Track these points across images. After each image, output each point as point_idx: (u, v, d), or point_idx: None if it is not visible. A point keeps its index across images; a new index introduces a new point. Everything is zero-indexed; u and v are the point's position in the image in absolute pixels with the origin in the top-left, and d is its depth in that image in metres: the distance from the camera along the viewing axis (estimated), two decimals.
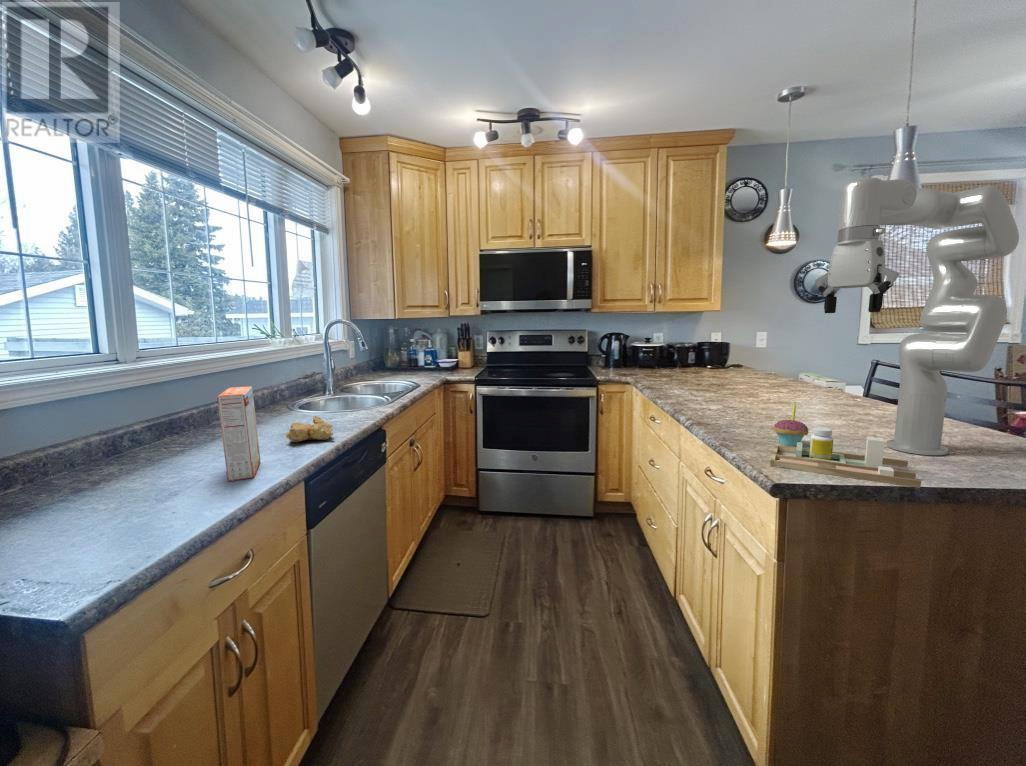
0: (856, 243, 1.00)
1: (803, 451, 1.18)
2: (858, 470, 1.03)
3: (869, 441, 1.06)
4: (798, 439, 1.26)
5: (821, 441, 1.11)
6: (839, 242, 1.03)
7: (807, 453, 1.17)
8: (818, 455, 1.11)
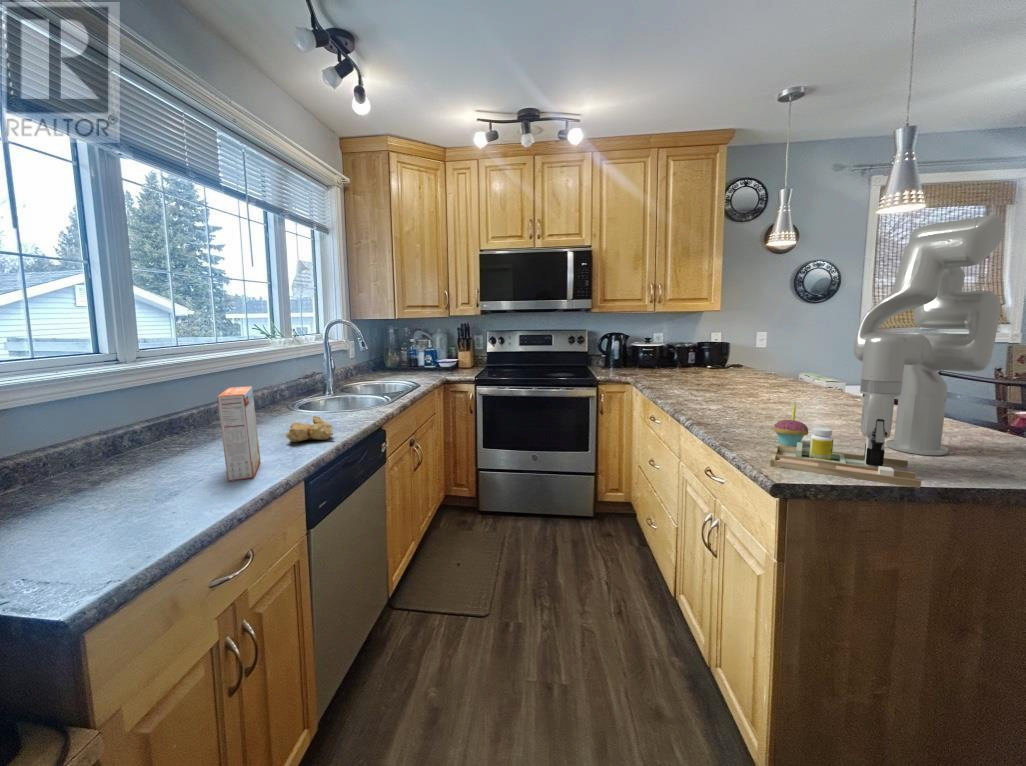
0: None
1: (803, 451, 1.18)
2: (858, 470, 1.03)
3: None
4: (798, 439, 1.26)
5: (821, 441, 1.11)
6: (899, 394, 1.01)
7: (807, 453, 1.17)
8: (818, 455, 1.11)
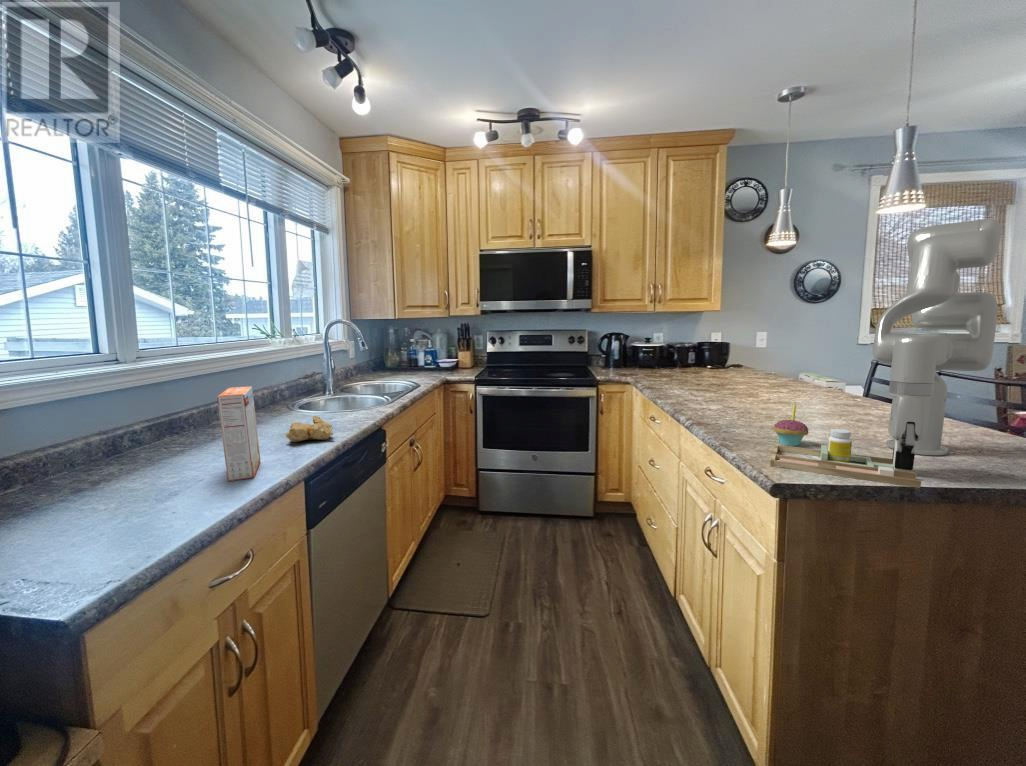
0: None
1: None
2: (858, 470, 1.03)
3: None
4: (798, 439, 1.26)
5: (839, 443, 1.09)
6: (930, 395, 0.99)
7: None
8: (837, 457, 1.09)
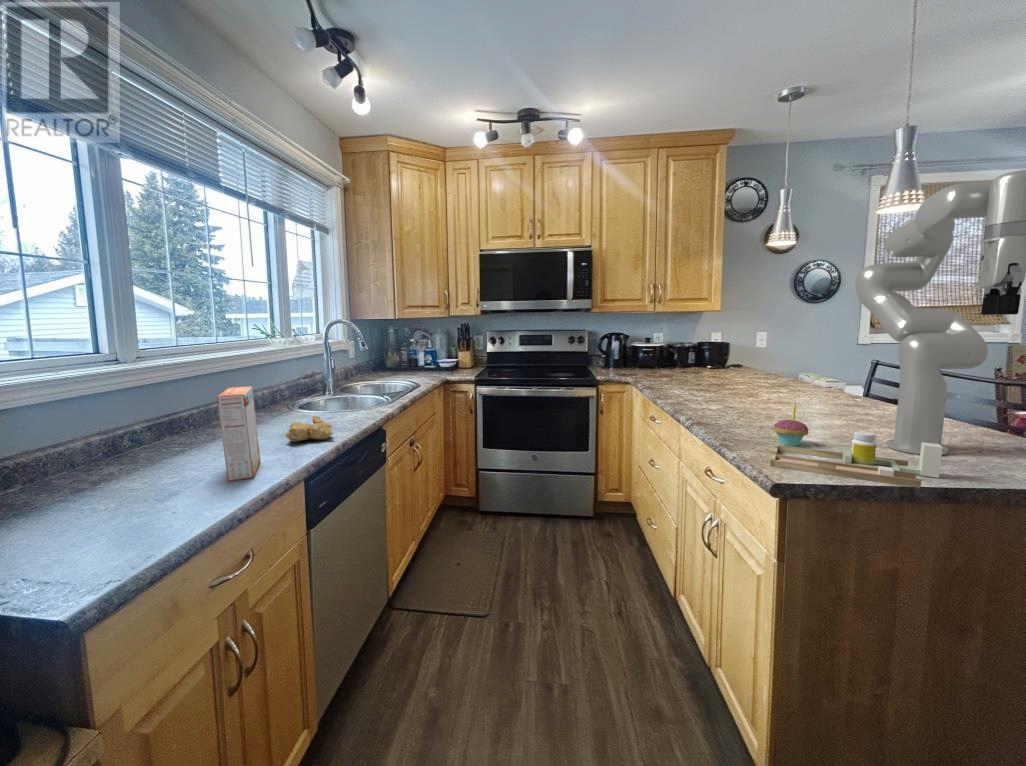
0: None
1: None
2: (858, 470, 1.03)
3: (925, 447, 1.00)
4: (798, 439, 1.26)
5: (863, 446, 1.06)
6: None
7: None
8: (860, 460, 1.07)
